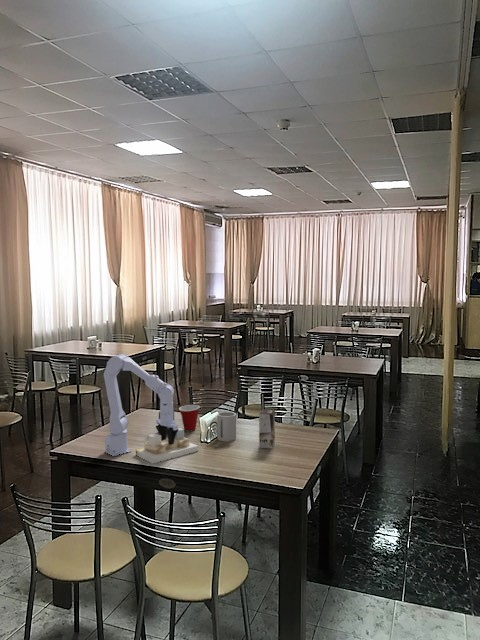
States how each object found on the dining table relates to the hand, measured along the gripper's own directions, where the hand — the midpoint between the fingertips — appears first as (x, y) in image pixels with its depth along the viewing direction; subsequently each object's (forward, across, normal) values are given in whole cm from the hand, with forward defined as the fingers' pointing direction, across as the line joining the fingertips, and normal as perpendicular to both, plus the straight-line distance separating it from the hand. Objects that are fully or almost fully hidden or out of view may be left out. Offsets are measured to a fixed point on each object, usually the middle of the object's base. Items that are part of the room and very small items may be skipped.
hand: (167, 442), depth 234 cm
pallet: (+2, 0, 0) cm, 2 cm away
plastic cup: (+5, +23, -29) cm, 37 cm away
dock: (+5, 0, 0) cm, 5 cm away
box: (+5, +26, -17) cm, 31 cm away
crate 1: (-1, 0, +6) cm, 6 cm away
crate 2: (-1, +1, -6) cm, 6 cm away
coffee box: (+5, -22, -41) cm, 47 cm away
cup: (+5, -1, -34) cm, 34 cm away
